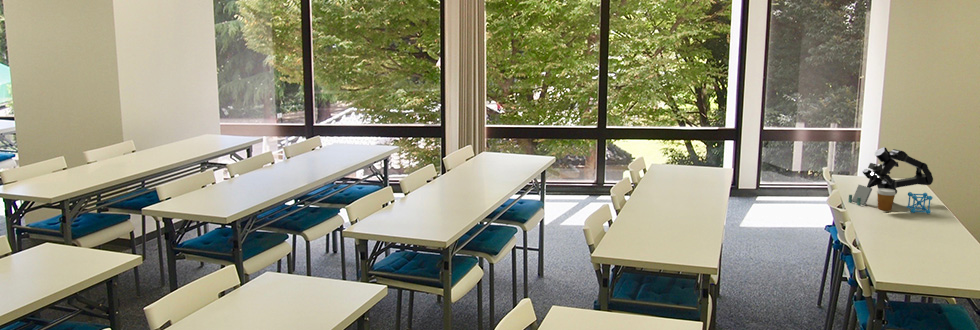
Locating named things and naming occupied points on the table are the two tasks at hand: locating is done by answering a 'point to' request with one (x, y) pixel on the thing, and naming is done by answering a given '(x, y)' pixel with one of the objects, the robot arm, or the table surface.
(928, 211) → the molecular structure
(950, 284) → the table surface
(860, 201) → the tablet stand
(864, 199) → the grey square plate
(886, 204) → the disposable coffee cup
